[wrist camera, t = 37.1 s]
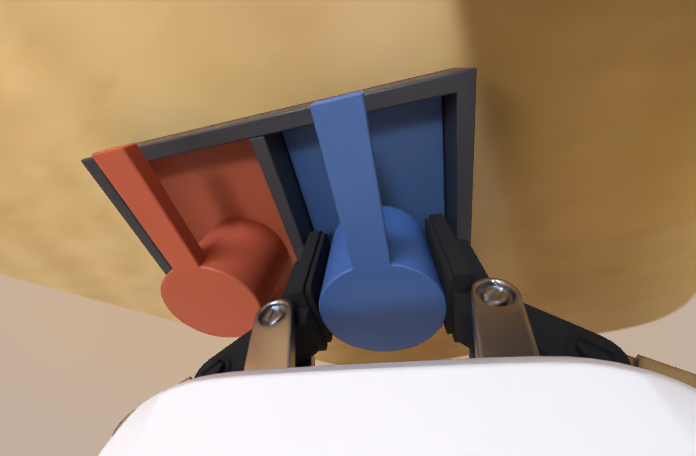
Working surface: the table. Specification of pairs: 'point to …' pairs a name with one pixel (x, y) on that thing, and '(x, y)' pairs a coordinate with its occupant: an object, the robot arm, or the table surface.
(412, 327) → the scoop blue
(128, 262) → the table surface
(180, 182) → the tray
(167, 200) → the scoop terracotta
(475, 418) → the robot arm
